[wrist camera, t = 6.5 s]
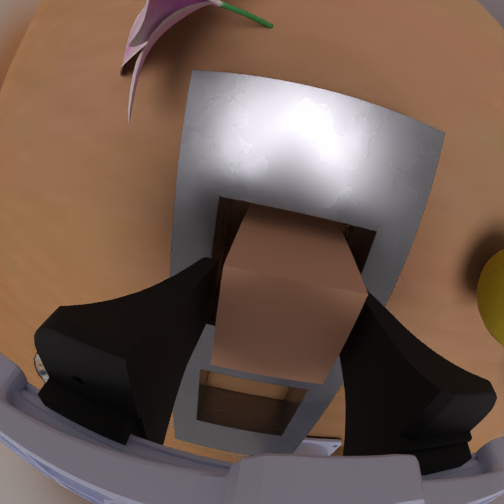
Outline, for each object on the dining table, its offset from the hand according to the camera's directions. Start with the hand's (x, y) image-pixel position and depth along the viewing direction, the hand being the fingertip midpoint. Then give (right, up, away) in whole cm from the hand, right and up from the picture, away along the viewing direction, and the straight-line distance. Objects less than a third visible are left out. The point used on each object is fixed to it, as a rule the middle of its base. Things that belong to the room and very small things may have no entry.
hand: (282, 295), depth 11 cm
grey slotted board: (0, -2, +6) cm, 7 cm away
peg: (+1, +2, +4) cm, 5 cm away
